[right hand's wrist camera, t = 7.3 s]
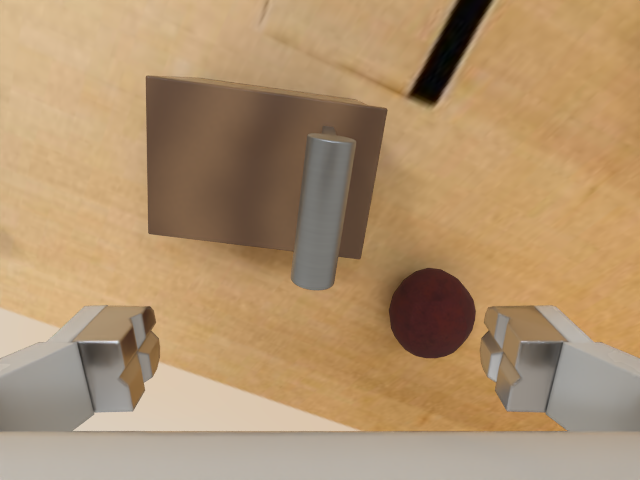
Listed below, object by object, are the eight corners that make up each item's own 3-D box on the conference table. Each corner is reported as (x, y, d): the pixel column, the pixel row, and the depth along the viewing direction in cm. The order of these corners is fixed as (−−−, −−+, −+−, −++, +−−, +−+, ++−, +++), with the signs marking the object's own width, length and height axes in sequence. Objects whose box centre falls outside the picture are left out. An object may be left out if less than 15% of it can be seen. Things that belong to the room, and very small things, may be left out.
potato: (384, 330, 41) (397, 378, 34) (382, 259, 38) (395, 295, 32) (459, 325, 41) (486, 372, 34) (462, 253, 38) (492, 288, 32)
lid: (385, 107, 25) (416, 119, 17) (359, 254, 28) (374, 321, 20) (151, 75, 24) (69, 72, 16) (153, 229, 27) (86, 288, 20)
